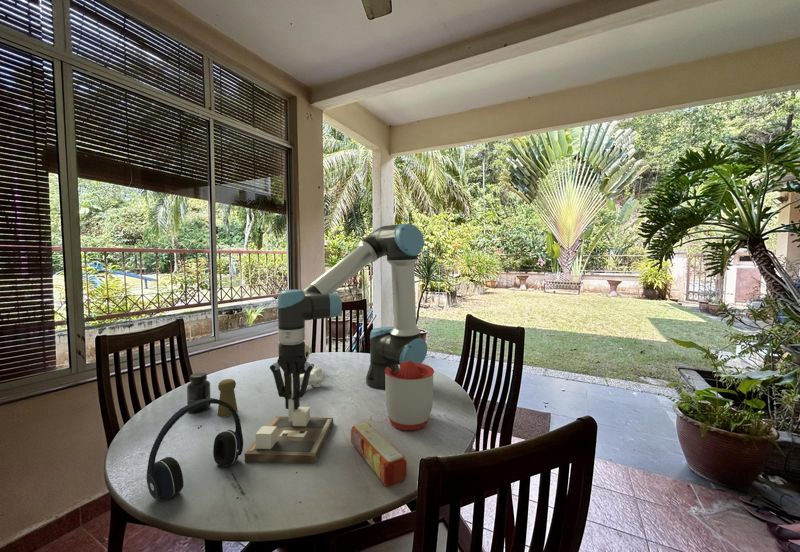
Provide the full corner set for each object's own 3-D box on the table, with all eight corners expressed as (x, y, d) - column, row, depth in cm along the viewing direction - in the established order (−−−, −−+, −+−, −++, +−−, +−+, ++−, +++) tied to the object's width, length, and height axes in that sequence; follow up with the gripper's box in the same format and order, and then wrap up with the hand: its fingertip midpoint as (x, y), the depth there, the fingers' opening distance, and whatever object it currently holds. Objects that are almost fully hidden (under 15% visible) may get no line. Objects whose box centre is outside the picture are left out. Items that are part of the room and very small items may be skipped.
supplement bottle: (213, 409, 114) (212, 374, 114) (190, 415, 109) (189, 379, 109) (206, 402, 119) (206, 369, 118) (184, 409, 114) (183, 374, 113)
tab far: (310, 419, 103) (310, 407, 102) (306, 426, 99) (305, 413, 98) (297, 419, 103) (297, 406, 102) (292, 426, 99) (292, 412, 98)
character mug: (293, 379, 143) (293, 349, 142) (285, 375, 148) (285, 346, 147) (315, 372, 151) (315, 344, 150) (307, 369, 156) (307, 341, 155)
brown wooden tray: (333, 424, 104) (333, 417, 104) (314, 463, 84) (314, 454, 84) (276, 422, 105) (276, 415, 105) (244, 461, 85) (244, 452, 85)
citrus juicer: (404, 405, 118) (405, 349, 117) (443, 422, 106) (444, 360, 105) (370, 419, 107) (370, 358, 106) (409, 441, 95) (410, 372, 94)
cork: (241, 410, 114) (241, 378, 113) (227, 418, 108) (226, 384, 107) (227, 407, 115) (227, 376, 115) (213, 415, 110) (212, 382, 109)
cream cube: (277, 440, 91) (276, 426, 91) (270, 449, 87) (270, 434, 87) (262, 440, 91) (262, 425, 91) (255, 448, 87) (255, 433, 87)
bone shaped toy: (289, 400, 123) (290, 379, 122) (279, 391, 129) (279, 371, 128) (324, 388, 134) (325, 369, 133) (313, 381, 140) (314, 362, 139)
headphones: (231, 452, 89) (230, 385, 88) (247, 461, 85) (246, 390, 84) (143, 498, 72) (140, 415, 71) (158, 511, 68) (155, 424, 67)
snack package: (348, 445, 93) (348, 422, 93) (370, 439, 96) (370, 416, 96) (383, 492, 75) (383, 463, 74) (409, 482, 78) (409, 454, 77)
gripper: (264, 344, 96) (266, 424, 97) (309, 345, 95) (310, 425, 97) (275, 338, 103) (276, 412, 105) (317, 339, 103) (317, 413, 104)
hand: (292, 418), depth 101 cm, fingers closed
